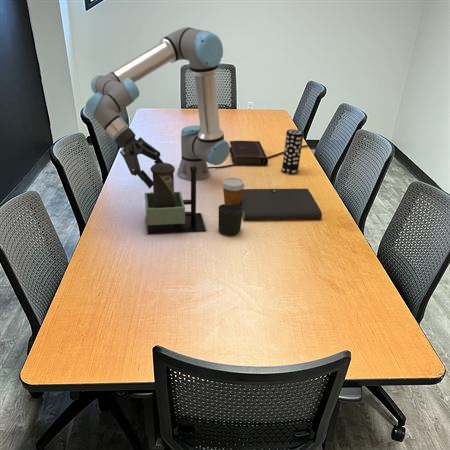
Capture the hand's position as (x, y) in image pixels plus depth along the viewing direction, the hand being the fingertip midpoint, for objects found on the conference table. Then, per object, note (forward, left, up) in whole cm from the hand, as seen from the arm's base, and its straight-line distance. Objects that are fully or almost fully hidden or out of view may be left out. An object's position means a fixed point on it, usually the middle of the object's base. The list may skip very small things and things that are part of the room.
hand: (160, 179), depth 174 cm
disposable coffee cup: (-31, -11, -19) cm, 38 cm away
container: (-1, +1, -14) cm, 14 cm away
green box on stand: (-5, +1, -19) cm, 20 cm away
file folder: (-51, -9, -19) cm, 55 cm away
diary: (-51, -70, -19) cm, 89 cm away
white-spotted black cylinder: (-69, -49, -19) cm, 87 cm away
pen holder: (-26, +9, -19) cm, 34 cm away
